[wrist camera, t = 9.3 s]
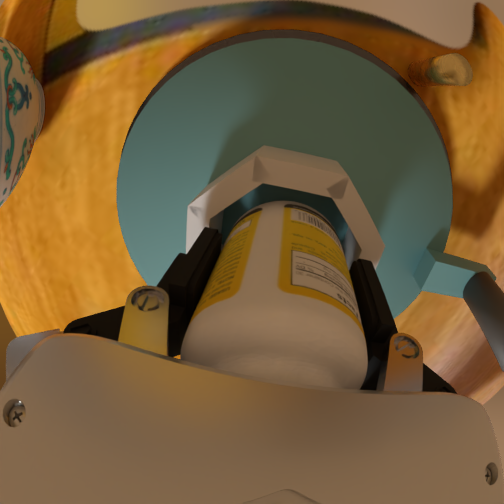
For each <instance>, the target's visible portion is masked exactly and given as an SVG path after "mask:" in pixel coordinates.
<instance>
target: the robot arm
mask: <svg viewBox="0 0 504 504" xmlns="http://www.w3.org/2000/svg"><path fill="white" fill-rule="evenodd" d="M221 245H222V233H218V229H214V228H208V227H204V229H203V230H202V232H201V233H200V235H199V236H198V238H197V239H196V241H195V242H194V244H193V245H192V247H191V248H190V250H189V251H188V253H187V254H185V253H179V254H178V255H177V257H176V258H175V259H174V261H173V262H172V264H171V265H170V267H169V268H168V270H167V271H166V273H165V274H164V276H163V277H162V278H161V280H160V281H159V283H158V284H157V286H142V287H138V288H136V289H134V290H133V291H132V292H131V293H130V294H129V295H128V297H127V300H126V305H125V306H122V307H119V308H115V309H112V310H108V311H105V312H101V313H98V314H94V315H90V316H87V317H83V318H80V319H77V320H74V321H72V322H71V323H69V324H68V325H67V327H66V328H65V329H64V331H61V332H60V329H54V330H50V331H45V332H40V333H35V334H30V335H25V336H20V337H17V338H15V339H13V340H12V341H11V342H10V344H9V345H8V347H7V353H6V383H5V384H4V386H3V388H2V389H1V391H0V504H504V479H503V471H502V464H501V458H500V453H499V449H498V445H497V440H496V437H495V433H494V430H493V426H492V424H491V421H490V418H489V416H488V414H487V412H486V410H485V408H484V407H483V406H482V405H481V404H480V403H478V402H477V401H475V400H473V399H471V398H468V397H466V396H463V395H459V394H457V393H456V391H455V390H454V388H453V387H452V386H451V385H450V384H448V383H447V382H446V381H445V380H443V379H442V378H441V377H440V376H438V375H437V374H436V373H435V372H434V371H432V370H431V369H430V368H429V367H427V366H426V365H425V364H424V363H423V351H422V347H421V345H420V344H419V342H418V341H417V340H416V339H415V338H413V337H412V336H410V335H408V334H405V333H398V331H397V328H396V325H395V322H394V319H393V316H392V313H391V310H390V308H389V305H388V302H387V299H386V297H385V294H384V291H383V289H382V286H381V283H380V281H379V278H378V276H377V273H376V271H375V268H374V266H373V263H372V262H371V261H369V260H365V259H360V258H359V259H358V260H357V261H353V262H352V265H351V267H350V270H349V274H350V278H351V281H352V285H353V289H354V293H355V297H356V301H357V305H358V309H359V314H360V318H361V323H362V327H363V331H364V336H365V340H366V347H367V358H368V366H367V373H366V377H365V380H364V382H363V384H362V386H361V388H360V390H357V389H344V388H333V387H323V386H314V385H306V384H298V383H291V382H284V381H278V380H271V379H266V378H260V377H254V376H249V375H244V374H239V373H234V372H229V371H225V370H220V369H216V368H211V367H207V366H203V365H199V364H195V363H191V362H187V361H184V360H180V359H176V358H173V357H175V356H177V355H180V354H181V347H182V342H183V339H184V337H185V334H186V331H187V328H188V326H189V323H190V321H191V318H192V316H193V314H194V311H195V309H196V307H197V305H198V302H199V300H200V298H201V296H202V293H203V291H204V289H205V286H206V284H207V282H208V280H209V277H210V275H211V273H212V271H213V268H214V266H215V264H216V262H217V259H218V257H219V255H220V253H221Z"/></svg>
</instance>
